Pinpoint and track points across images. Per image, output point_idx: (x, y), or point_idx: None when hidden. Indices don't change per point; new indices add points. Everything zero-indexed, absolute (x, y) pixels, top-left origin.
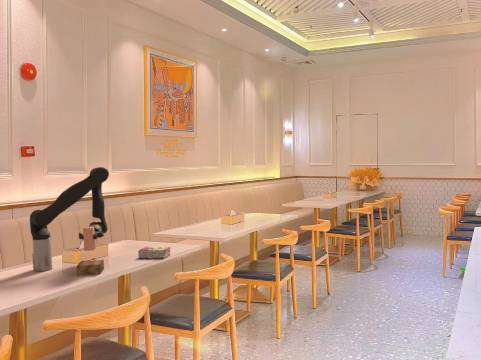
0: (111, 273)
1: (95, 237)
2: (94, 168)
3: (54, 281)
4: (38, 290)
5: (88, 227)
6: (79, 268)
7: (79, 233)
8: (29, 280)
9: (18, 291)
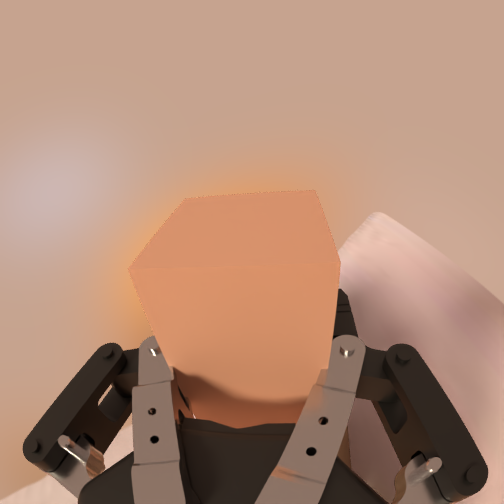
0: None
1: None
2: None
3: (395, 337)
4: (387, 268)
5: (240, 217)
6: None
7: (454, 432)
8: (489, 353)
9: (432, 267)
